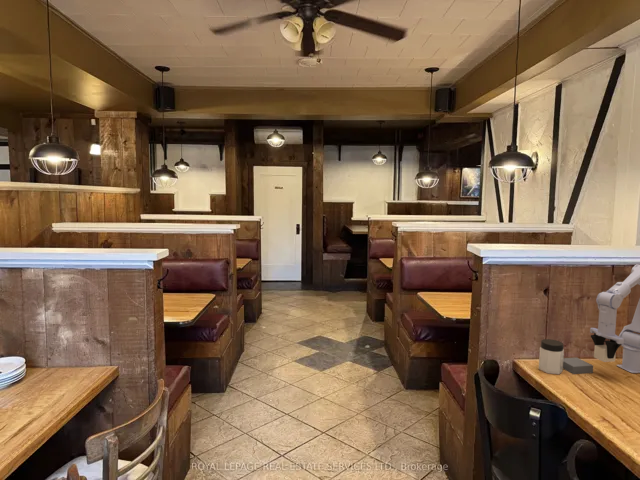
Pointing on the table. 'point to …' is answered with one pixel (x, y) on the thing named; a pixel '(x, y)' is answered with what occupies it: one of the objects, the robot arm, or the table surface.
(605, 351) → the cream cube
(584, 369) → the charcoal base
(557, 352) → the jar
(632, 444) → the table surface
